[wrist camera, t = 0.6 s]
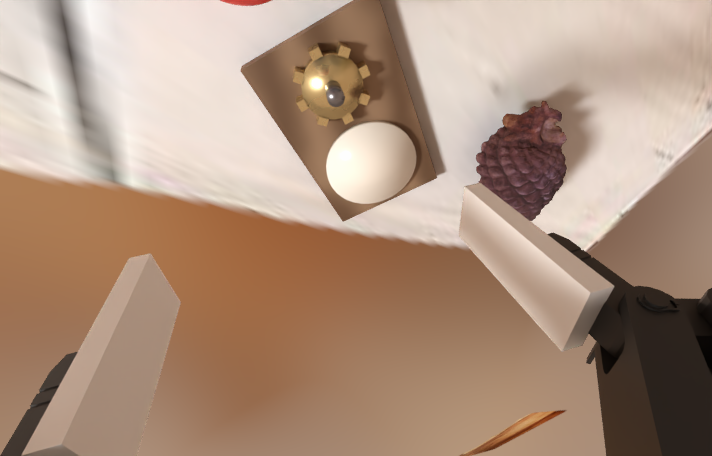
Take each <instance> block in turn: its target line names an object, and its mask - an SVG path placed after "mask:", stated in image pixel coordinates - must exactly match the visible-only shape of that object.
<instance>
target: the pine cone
mask: <svg viewBox="0 0 712 456" xmlns="http://www.w3.org/2000/svg"><path fill="white" fill-rule="evenodd" d="M561 119H562V114H561V112H559V111H558V110H554V109H552V108H549V106H548V104H547V102H546V101H542V103H541V107H535V106H534V107H532V108H530V110H529V111H528V112H525V113H523V114H521V115H516V114H506V115H505V116H504V117H503V120H502V121H503V125H504V127H503V128H500V129H498V131H497V133H496V134H494V135H491V136H490V138H489V141H487V142H484V143H483V144H482V147H481V150H482V152H481V153H478V154H477V155H476V160H477V162H478V163H480V165H479V166H477V169H476V170H477V173H479V174H480V175H481V179H480V181H479V183H481V184H482V185H484V186H485V187H486V188H488V189H489V190H490V191H492V192H493V193H494V194H495V195H497V196H498V197H499V198H501V199H502V200H503V201H504V202H506V203H507V204H508V205H510V206H511V207H512V208H514V209H515V210H516V211H517V212H519V213H520V214H521V215H523V216H524V217H525V218H527V219H528V220H529V221H532V220H533V219H535V218H536V216H537V215H539V214H540V212H541V209H542V208H544V206H545V205H547V204H549V202H550V201H551V200H552V198H553V196H554V194H555V193H556V191H558V190H559V188H560V187H561V186H562V184H563V178H564V176H565V174H566V169H567V168H566V165H565V156H564V155H563V154H562V149H561V146H562V144H563V143H564V142H565V141H566V140H567V139H566V135H565V134H564V132H562V129H561V128H560V127H559V126H556V125H555V123H556V122H557V121H561Z"/></svg>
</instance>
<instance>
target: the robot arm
mask: <svg viewBox="0 0 712 456" xmlns="http://www.w3.org/2000/svg"><path fill="white" fill-rule="evenodd" d="M459 237H460V238H461V239H462V240H463V241H464V242H465V243H466V245H467V246H468V247H469V248H470V249H471V250H472V251H473V252H474V254H475V255H476V256H477V257H478V258H479V259H480V260H481V261H482V263H483V264H484V265H485V266H486V267H487V268H488V269H489V270H490V271H491V273H492V274H493V275H494V276H495V277H496V278H497V279H498V280H499V282H500V283H501V284H502V285H503V286H504V287H505V288H506V289H507V291H508V292H509V293H510V294H511V295H512V296H513V297H514V298H515V300H516V301H517V302H518V303H519V304H520V305H521V306H522V307H523V309H524V310H525V311H526V312H527V313H528V314H529V315H530V316H531V318H532V319H533V320H534V321H535V322H536V323H537V324H538V325H539V327H540V328H541V329H542V330H543V331H544V332H545V333H546V334H547V336H548V337H549V338H550V339H551V340H552V341H553V342H554V343H555V345H557V347H558V348H559V349H560V350H561V351H566V350H569V349H572V348H575V347H579V346H582V345H583V343H584V341H585V339H586V338H587V336H588V334H590V335H591V336H592V337H593V338H594V339H595V340H596V341H597V342H596V344H595V345H594V347H593V349H592V350H591V352H590V354H589V356H588V357H587V362H586V363H588V364H591V362H592V360H593V359H594V357H595V361H596V369H597V378H598V385H599V386H598V387H599V395H600V404H601V413H602V422H603V430H604V439H605V448H606V456H712V288H711V289H709V290H707V292H706V293H705V294H704V296H703V297H702V298H701V299H674V298H673V297H672V296H670V295H668V294H666V293H664V292H662V291H660V290H657V289H653V288H651V287H643V286H636V287H633V286H632V285H630V284H629V283H628V282H626V281H625V280H623V279H622V278H621V277H619V276H618V275H617V274H615V273H614V272H613V271H611V270H610V269H608V268H607V267H606V266H604V265H603V264H601V263H600V262H599V261H597V260H596V259H595V258H591V255H589V254H588V253H587V252H585V251H584V250H581V248H580V247H578V246H577V245H576V244H574V243H573V242H572V241H570V240H569V239H567V238H564V237H562V236H560V235H557V234H555V233H550V234H546V233H545V232H543V231H542V230H541V229H540V228H538V227H537V226H536V225H534V224H533V223H532V222H530V221H529V220H528V219H527V218H525V217H524V216H523V215H521V214H520V213H519V212H517V211H516V210H515V209H514V208H512V207H511V206H510V205H508V204H507V203H506V202H504V201H503V200H502V199H501V198H499V197H498V196H497V195H495V194H494V193H493V192H492V191H490V190H489V189H488V188H486V187H485V186H484V185H482V184H481V183H477V184H473V185H468V186H465V187H464V195H463V204H462V212H461V220H460V229H459ZM180 303H181V302H180V300H179V298H178V297H177V295H176V294H175V292H174V291H173V289H172V287H171V286H170V284H169V283H168V281H167V279H166V278H165V276H164V274H163V273H162V271H161V270H160V268H159V266H158V265H157V263H156V262H155V260H154V258H153V257H152V255H151V254H146V255H142V256H137V257H132V258H129V259H128V261H127V263H126V265H125V267H124V269H123V270H122V272H121V274H120V276H119V278H118V280H117V281H116V283H115V285H114V287H113V289H112V290H111V292H110V294H109V296H108V298H107V300H106V302H105V303H104V305H103V307H102V309H101V311H100V312H99V314H98V316H97V318H96V320H95V322H94V323H93V325H92V327H91V329H90V331H89V333H88V335H87V336H86V338H85V340H84V342H83V344H82V345H81V347H80V349H79V351H78V352H75V353H71V354H68V355H66V356H65V357H64V358H63V359H62V360H61V361H60V362H59V363H58V365H56V366H55V367H54V368H53V369H52V371H51V372H50V373H49V375H48V376H47V378H46V380H45V381H44V383H43V385H42V386H41V388H40V390H39V391H40V393H39V394H37V395H36V397H35V398H34V400H33V402H32V403H31V405H30V406H31V408H30V409H28V410H27V412H26V413H25V415H24V417H23V418H22V420H21V422H20V423H19V425H18V427H17V429H16V430H15V432H14V434H13V435H12V437H11V439H10V440H9V442H8V444H7V445H6V447H5V449H4V450H3V452H2V454H1V455H0V456H137V454H138V450H139V447H140V444H141V440H142V437H143V433H144V429H145V426H146V423H147V419H148V415H149V412H150V408H151V405H152V401H153V398H154V394H155V391H156V387H157V383H158V380H159V376H160V373H161V370H162V366H163V363H164V359H165V356H166V352H167V349H168V345H169V341H170V338H171V334H172V331H173V327H174V324H175V320H176V317H177V313H178V310H179V306H180Z"/></svg>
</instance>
